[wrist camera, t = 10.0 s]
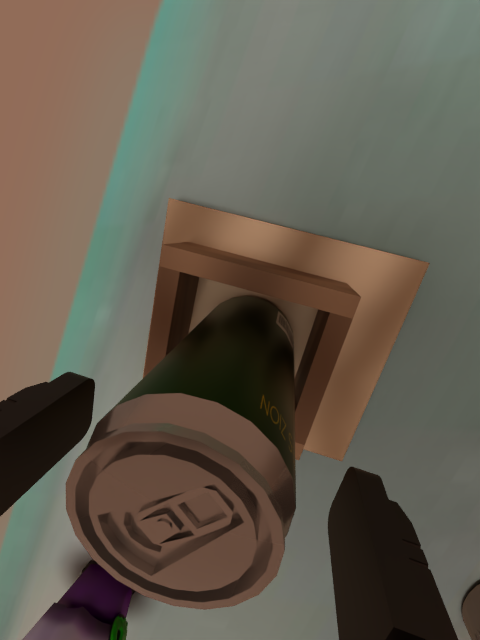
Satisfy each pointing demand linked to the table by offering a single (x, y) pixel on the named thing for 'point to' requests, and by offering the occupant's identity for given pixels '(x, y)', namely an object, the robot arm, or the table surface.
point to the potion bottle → (87, 610)
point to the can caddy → (289, 307)
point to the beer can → (197, 465)
